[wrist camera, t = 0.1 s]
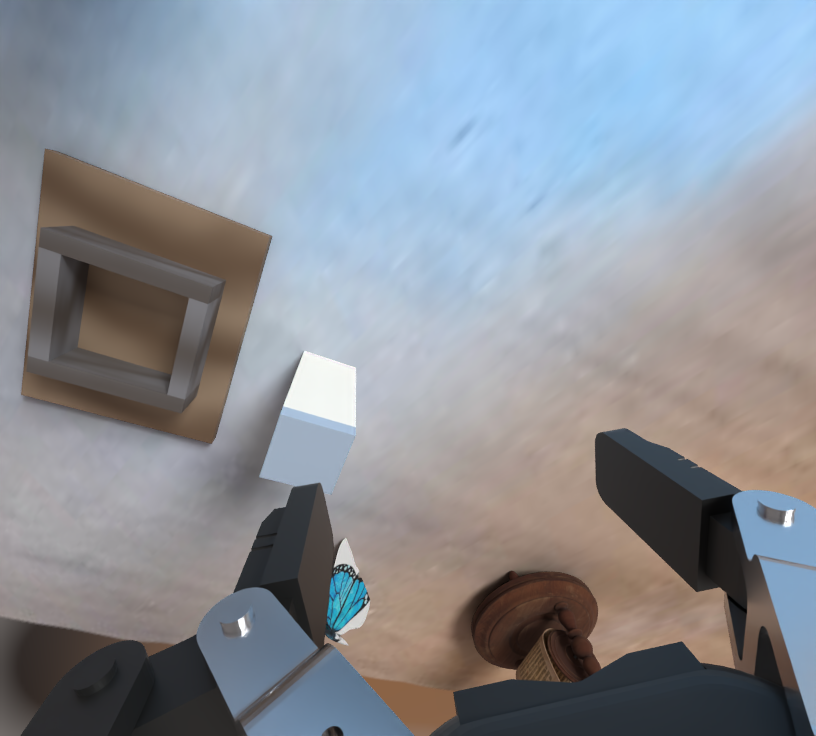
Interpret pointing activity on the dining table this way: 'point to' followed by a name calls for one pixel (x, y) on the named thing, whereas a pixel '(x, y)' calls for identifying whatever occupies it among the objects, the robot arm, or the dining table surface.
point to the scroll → (539, 627)
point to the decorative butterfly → (345, 596)
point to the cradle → (136, 301)
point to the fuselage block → (314, 425)
